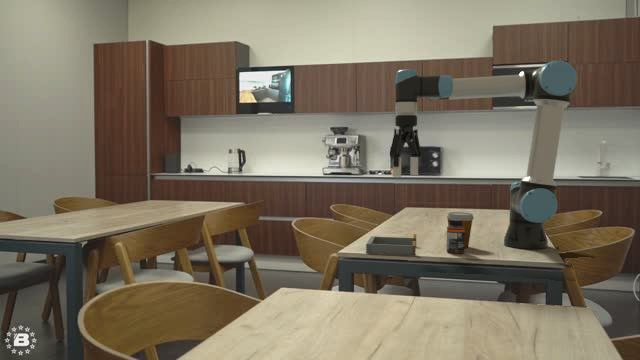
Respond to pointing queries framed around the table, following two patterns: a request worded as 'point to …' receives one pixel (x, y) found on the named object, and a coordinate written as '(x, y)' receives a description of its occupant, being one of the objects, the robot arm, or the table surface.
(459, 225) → the supplement bottle
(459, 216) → the disposable coffee cup
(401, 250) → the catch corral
